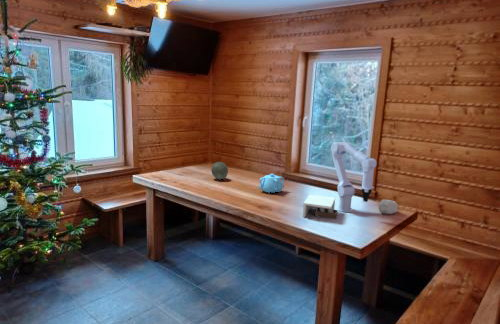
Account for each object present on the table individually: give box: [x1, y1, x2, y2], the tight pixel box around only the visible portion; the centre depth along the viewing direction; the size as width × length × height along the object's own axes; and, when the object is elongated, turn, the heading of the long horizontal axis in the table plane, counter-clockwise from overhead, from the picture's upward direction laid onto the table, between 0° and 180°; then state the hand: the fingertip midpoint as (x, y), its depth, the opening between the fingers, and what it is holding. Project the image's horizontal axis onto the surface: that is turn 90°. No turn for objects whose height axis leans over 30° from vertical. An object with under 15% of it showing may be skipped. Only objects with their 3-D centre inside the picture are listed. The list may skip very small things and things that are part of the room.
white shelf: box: [302, 194, 336, 218], centre depth 211 cm, size 20×16×9 cm
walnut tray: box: [314, 206, 339, 220], centre depth 209 cm, size 8×12×6 cm, turn 70°
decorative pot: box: [258, 173, 285, 194], centre depth 258 cm, size 16×16×14 cm
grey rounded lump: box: [378, 199, 399, 215], centre depth 219 cm, size 9×11×15 cm
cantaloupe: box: [210, 161, 229, 181], centre depth 289 cm, size 14×14×15 cm
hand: (365, 201), depth 206 cm, fingers closed
